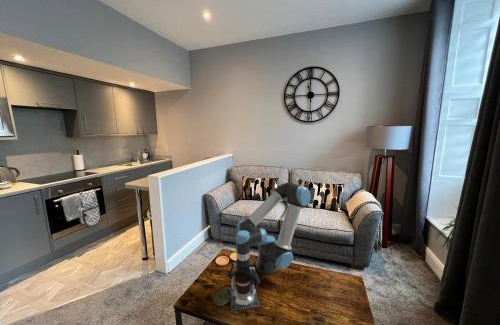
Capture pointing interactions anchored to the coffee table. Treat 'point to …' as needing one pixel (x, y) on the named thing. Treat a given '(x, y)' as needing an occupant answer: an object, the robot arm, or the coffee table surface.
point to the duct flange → (243, 304)
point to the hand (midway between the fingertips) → (243, 290)
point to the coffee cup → (242, 285)
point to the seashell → (222, 297)
